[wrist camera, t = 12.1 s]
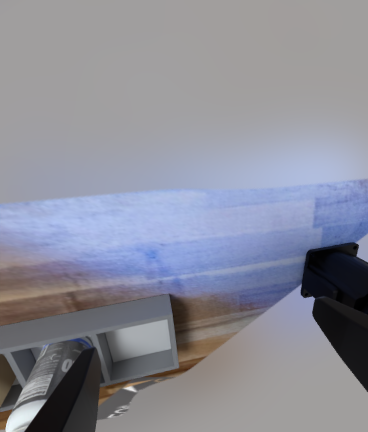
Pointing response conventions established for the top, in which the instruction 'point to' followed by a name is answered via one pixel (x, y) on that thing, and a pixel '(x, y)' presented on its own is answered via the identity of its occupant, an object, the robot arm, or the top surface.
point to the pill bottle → (44, 380)
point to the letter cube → (5, 378)
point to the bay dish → (98, 341)
